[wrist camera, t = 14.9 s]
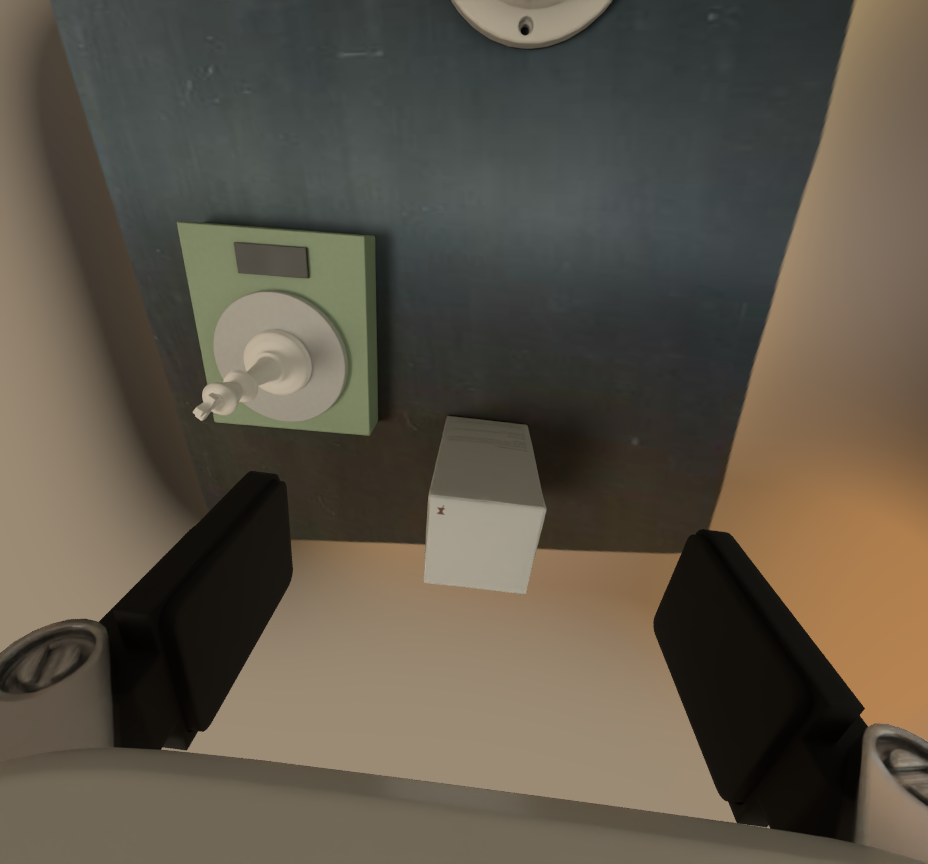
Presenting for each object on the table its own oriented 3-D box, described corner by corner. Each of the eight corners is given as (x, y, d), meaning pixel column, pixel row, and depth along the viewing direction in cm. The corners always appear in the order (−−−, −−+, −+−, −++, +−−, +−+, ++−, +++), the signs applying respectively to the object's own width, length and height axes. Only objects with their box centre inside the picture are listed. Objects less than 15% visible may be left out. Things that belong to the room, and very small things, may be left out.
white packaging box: (438, 485, 41) (418, 584, 29) (446, 413, 38) (426, 492, 26) (517, 495, 41) (526, 599, 29) (531, 423, 38) (548, 508, 26)
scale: (202, 222, 32) (167, 221, 29) (375, 235, 32) (361, 236, 29) (233, 409, 39) (208, 426, 35) (378, 421, 38) (367, 440, 35)
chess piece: (324, 359, 32) (259, 409, 23) (290, 405, 34) (218, 468, 25) (267, 314, 31) (175, 349, 22) (235, 365, 33) (137, 415, 24)
